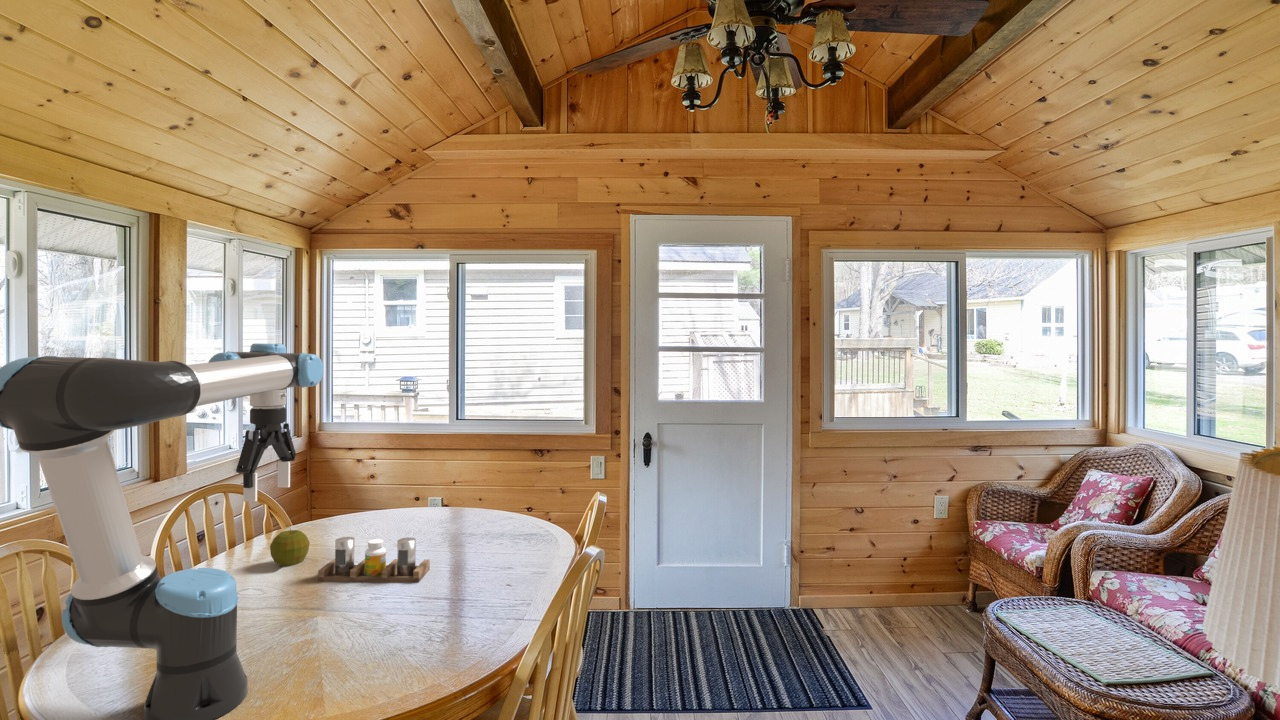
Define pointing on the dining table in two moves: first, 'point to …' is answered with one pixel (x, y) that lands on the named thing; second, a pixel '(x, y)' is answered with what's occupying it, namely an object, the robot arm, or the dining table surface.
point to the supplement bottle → (375, 558)
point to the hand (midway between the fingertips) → (267, 493)
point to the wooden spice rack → (359, 576)
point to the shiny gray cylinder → (344, 556)
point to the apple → (289, 547)
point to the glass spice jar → (406, 556)
